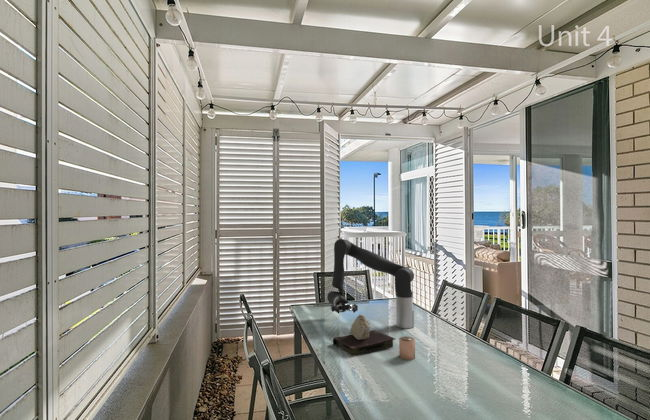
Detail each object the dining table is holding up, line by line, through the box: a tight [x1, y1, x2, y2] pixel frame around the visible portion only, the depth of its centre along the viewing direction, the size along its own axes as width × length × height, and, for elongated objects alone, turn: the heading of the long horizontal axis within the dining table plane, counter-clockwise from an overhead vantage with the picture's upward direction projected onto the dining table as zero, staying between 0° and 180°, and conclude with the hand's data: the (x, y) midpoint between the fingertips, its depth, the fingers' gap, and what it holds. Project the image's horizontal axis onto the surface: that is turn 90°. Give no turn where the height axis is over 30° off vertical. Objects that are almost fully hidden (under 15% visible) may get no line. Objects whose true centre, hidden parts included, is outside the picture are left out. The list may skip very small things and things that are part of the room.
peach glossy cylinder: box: [398, 335, 416, 361], centre depth 169 cm, size 7×7×8 cm
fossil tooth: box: [349, 314, 371, 340], centre depth 184 cm, size 12×6×15 cm
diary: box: [332, 329, 396, 357], centre depth 183 cm, size 19×25×5 cm
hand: (346, 311), depth 198 cm, fingers open, 8 cm apart
